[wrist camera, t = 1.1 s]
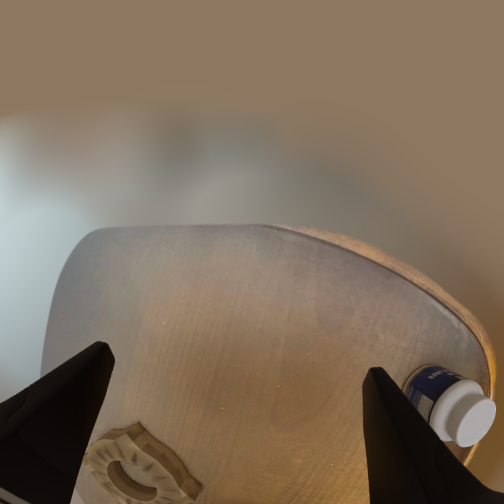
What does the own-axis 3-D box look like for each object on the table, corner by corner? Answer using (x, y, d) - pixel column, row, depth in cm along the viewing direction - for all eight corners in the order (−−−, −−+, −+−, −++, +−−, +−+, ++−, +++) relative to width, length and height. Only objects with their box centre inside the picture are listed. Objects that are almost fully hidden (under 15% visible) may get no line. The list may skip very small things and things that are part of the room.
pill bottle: (447, 358, 21) (508, 380, 12) (441, 405, 21) (493, 440, 11) (402, 368, 22) (456, 402, 12) (397, 418, 21) (442, 465, 11)
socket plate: (211, 488, 22) (204, 504, 19) (147, 509, 21) (138, 522, 18) (138, 414, 23) (125, 424, 20) (85, 445, 23) (72, 454, 20)
